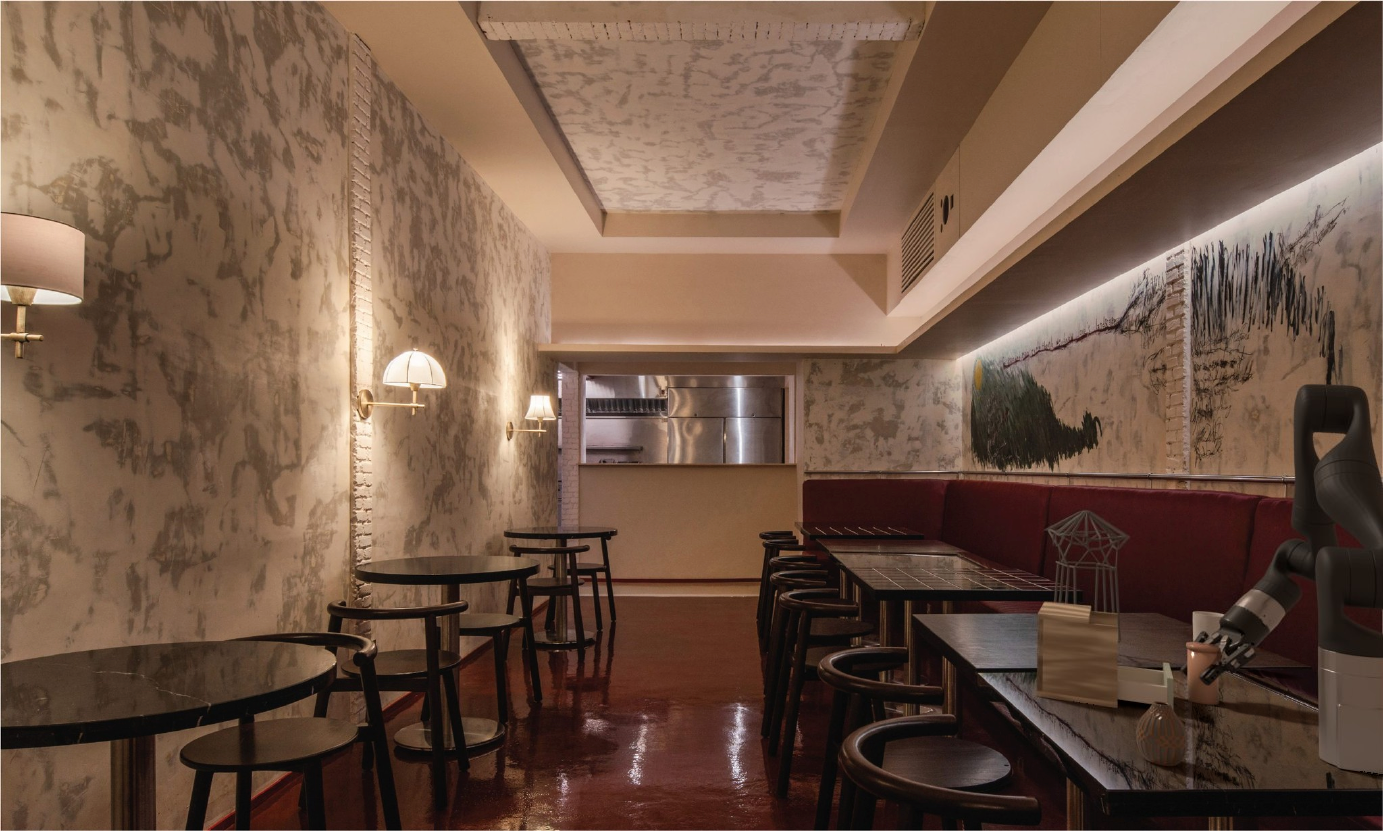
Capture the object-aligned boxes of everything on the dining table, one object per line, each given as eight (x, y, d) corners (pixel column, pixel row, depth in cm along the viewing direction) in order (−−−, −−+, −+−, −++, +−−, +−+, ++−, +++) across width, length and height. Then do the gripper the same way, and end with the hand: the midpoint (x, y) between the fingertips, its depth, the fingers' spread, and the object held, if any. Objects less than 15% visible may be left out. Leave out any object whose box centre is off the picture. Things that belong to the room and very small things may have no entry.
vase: (1170, 754, 132) (1170, 697, 132) (1198, 770, 125) (1198, 710, 125) (1126, 753, 132) (1127, 696, 132) (1152, 769, 125) (1152, 709, 125)
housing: (1117, 708, 158) (1117, 621, 159) (1036, 696, 164) (1037, 613, 165) (1117, 687, 174) (1117, 608, 175) (1043, 677, 180) (1044, 601, 181)
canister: (1221, 706, 161) (1221, 649, 162) (1187, 702, 164) (1187, 645, 165) (1218, 699, 166) (1217, 644, 167) (1185, 695, 169) (1185, 641, 170)
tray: (1173, 712, 155) (1173, 678, 155) (1092, 700, 161) (1092, 668, 161) (1168, 693, 168) (1168, 663, 169) (1094, 683, 174) (1094, 654, 175)
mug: (1195, 666, 196) (1195, 614, 197) (1190, 660, 202) (1190, 610, 203) (1246, 672, 192) (1245, 619, 193) (1239, 666, 198) (1239, 614, 199)
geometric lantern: (1105, 650, 211) (1106, 510, 213) (1132, 665, 195) (1133, 513, 197) (1040, 647, 212) (1042, 507, 214) (1061, 661, 197) (1063, 510, 199)
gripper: (1214, 598, 174) (1158, 655, 172) (1265, 610, 160) (1204, 673, 158) (1239, 625, 174) (1183, 682, 172) (1292, 639, 159) (1232, 702, 158)
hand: (1193, 677), depth 165 cm, fingers closed on canister, 5 cm apart
